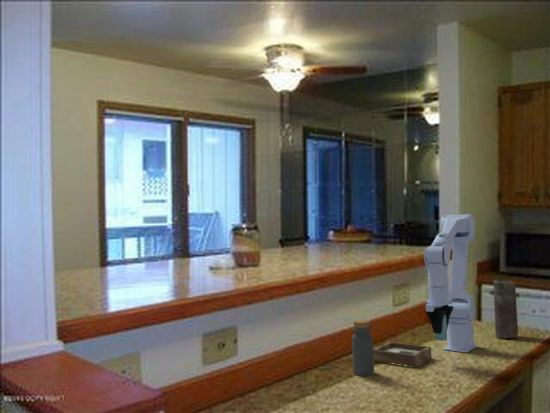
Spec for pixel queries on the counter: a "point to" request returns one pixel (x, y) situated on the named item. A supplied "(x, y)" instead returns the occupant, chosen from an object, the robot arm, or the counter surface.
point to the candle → (505, 309)
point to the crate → (401, 354)
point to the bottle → (362, 348)
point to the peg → (444, 331)
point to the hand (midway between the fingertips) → (440, 331)
